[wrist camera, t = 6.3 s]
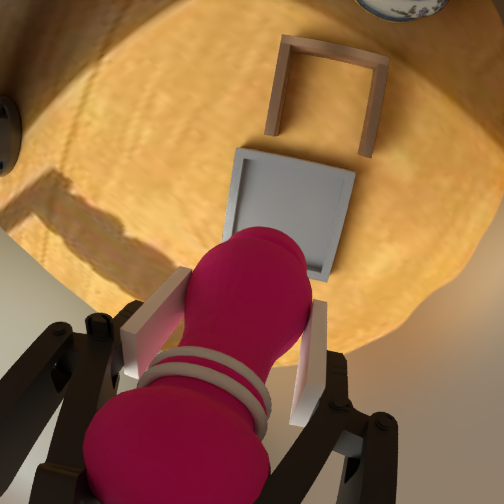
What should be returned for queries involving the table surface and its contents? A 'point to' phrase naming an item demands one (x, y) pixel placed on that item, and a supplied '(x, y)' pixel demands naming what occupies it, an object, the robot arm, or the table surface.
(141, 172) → the table surface
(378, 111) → the cubby
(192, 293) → the pepper mill
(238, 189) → the tray
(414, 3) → the apothecary jar
